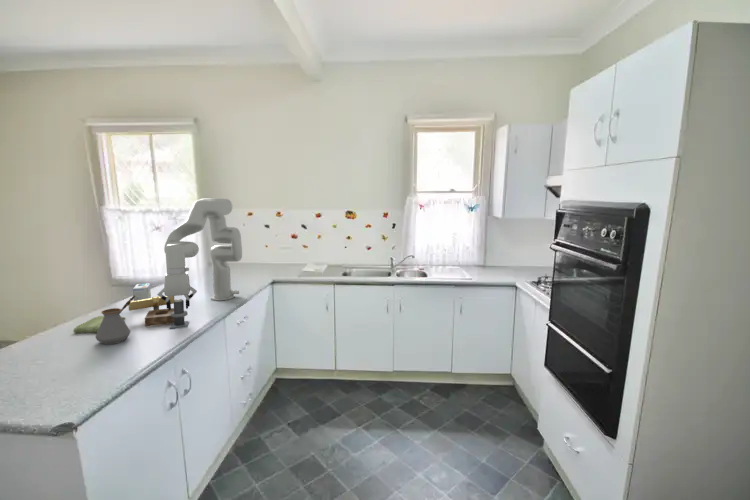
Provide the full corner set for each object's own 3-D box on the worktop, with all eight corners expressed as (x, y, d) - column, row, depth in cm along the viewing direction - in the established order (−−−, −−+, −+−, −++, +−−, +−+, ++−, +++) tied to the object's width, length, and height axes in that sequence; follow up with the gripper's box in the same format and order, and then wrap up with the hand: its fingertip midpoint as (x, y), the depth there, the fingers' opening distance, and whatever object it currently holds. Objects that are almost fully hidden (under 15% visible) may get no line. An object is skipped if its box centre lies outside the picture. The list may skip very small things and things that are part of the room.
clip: (175, 303, 176) (174, 294, 175) (129, 311, 163) (128, 301, 162) (173, 302, 178) (172, 293, 177) (128, 309, 165) (127, 299, 164)
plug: (188, 320, 166) (187, 297, 165) (187, 325, 160) (186, 300, 159) (172, 322, 164) (170, 298, 162) (170, 327, 158) (169, 302, 156)
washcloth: (127, 320, 168) (126, 313, 168) (103, 334, 151) (102, 327, 150) (97, 320, 167) (97, 314, 166) (70, 334, 149) (69, 327, 149)
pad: (188, 322, 167) (188, 320, 166) (187, 327, 160) (187, 325, 160) (171, 323, 164) (171, 322, 164) (169, 328, 157) (169, 327, 157)
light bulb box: (137, 302, 194) (136, 283, 192) (151, 301, 197) (150, 282, 195) (133, 308, 184) (132, 288, 183) (148, 306, 187) (147, 287, 186)
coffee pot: (118, 346, 138) (115, 310, 136) (88, 346, 138) (85, 309, 135) (150, 327, 159) (148, 295, 157) (124, 326, 159) (122, 294, 156)
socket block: (178, 314, 177) (177, 303, 176) (175, 323, 164) (174, 312, 163) (150, 316, 172) (149, 306, 171) (145, 326, 159) (144, 315, 159)
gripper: (198, 268, 165) (199, 304, 168) (155, 270, 158) (157, 308, 161) (197, 271, 158) (199, 309, 161) (152, 273, 151) (155, 313, 154)
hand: (178, 308), depth 161 cm, fingers open, 6 cm apart
